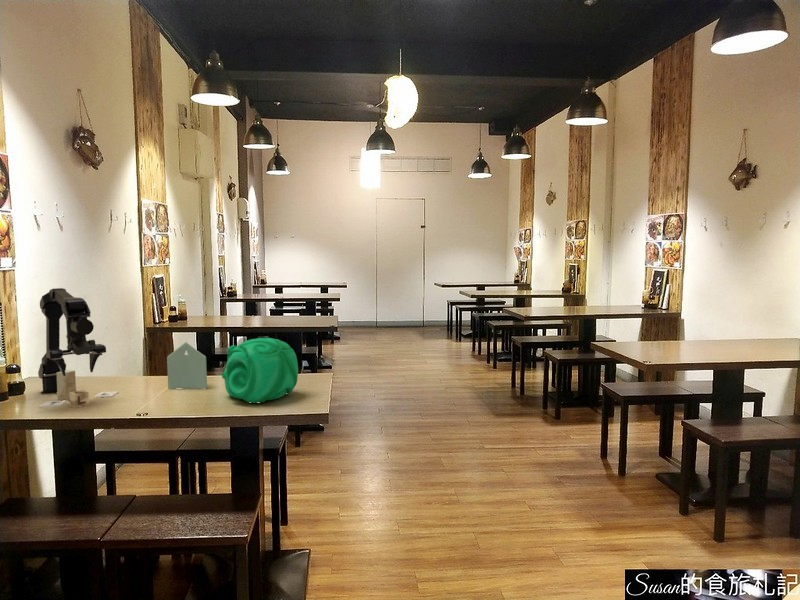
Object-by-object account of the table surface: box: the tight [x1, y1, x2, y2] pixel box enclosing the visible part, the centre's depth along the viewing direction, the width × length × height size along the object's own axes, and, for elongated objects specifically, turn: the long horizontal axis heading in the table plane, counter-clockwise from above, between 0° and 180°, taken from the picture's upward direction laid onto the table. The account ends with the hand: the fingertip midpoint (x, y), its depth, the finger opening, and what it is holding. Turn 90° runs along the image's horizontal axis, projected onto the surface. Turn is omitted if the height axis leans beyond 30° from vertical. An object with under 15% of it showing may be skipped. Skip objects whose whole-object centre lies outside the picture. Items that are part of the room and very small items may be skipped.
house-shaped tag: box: [166, 342, 208, 390], centre depth 240 cm, size 16×8×20 cm, turn 88°
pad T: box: [38, 400, 69, 408], centre depth 213 cm, size 7×7×1 cm
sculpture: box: [221, 337, 299, 403], centre depth 222 cm, size 27×28×30 cm
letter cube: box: [69, 389, 90, 408], centre depth 212 cm, size 5×5×5 cm
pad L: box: [93, 391, 120, 398], centre depth 227 cm, size 7×7×1 cm
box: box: [56, 369, 77, 401], centre depth 221 cm, size 5×4×11 cm
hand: (78, 374), depth 211 cm, fingers open, 9 cm apart
